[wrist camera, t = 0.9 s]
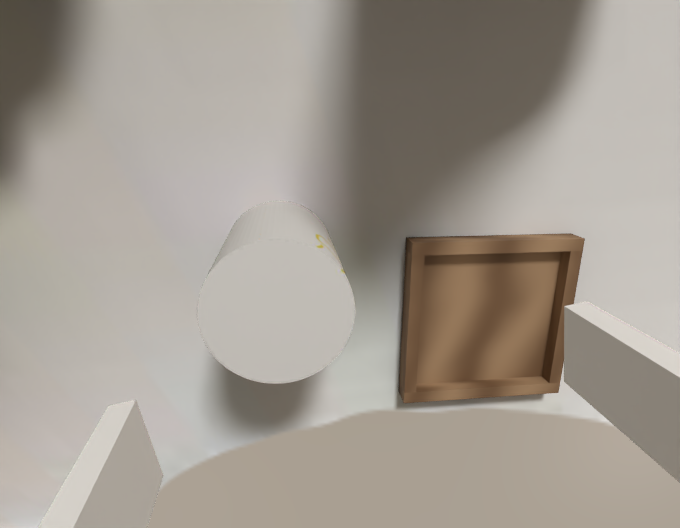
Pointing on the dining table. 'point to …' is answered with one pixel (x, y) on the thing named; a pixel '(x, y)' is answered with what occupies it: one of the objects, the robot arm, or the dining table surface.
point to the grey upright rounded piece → (276, 296)
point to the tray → (485, 315)
